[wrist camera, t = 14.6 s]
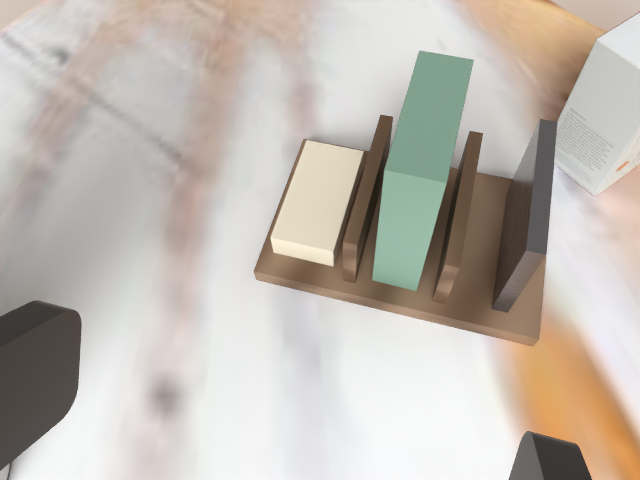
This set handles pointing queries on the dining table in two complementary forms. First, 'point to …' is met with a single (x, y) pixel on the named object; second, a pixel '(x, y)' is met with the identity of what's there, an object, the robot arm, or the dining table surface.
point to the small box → (603, 112)
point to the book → (419, 167)
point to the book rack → (441, 260)
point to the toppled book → (318, 203)
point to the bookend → (526, 218)
